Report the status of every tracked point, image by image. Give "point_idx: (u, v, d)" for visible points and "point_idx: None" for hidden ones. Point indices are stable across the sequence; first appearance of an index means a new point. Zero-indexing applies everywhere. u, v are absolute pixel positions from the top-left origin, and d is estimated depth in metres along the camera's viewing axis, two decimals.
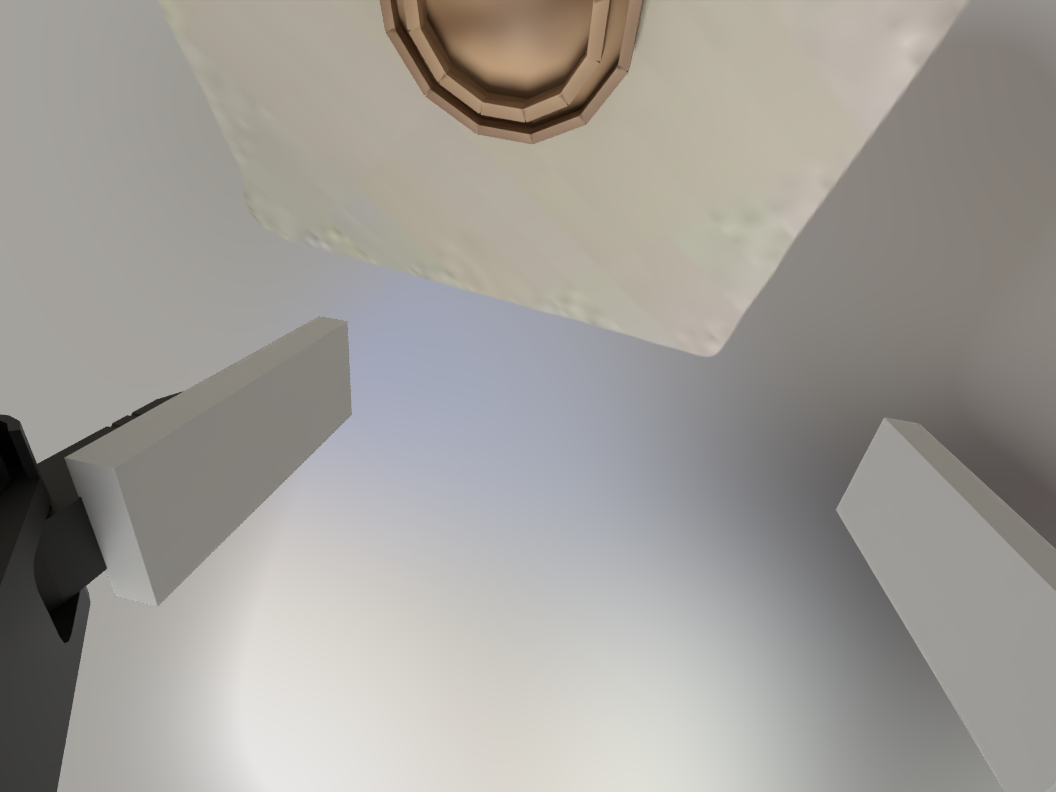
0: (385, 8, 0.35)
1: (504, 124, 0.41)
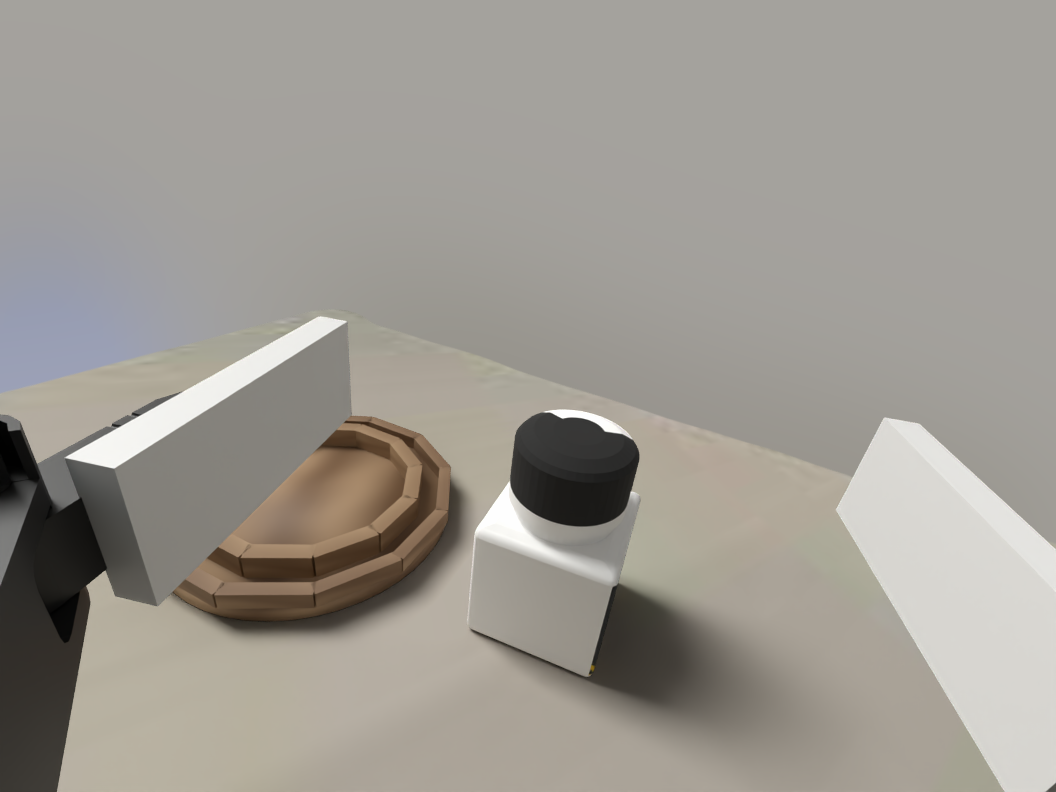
0: (385, 423, 0.41)
1: None
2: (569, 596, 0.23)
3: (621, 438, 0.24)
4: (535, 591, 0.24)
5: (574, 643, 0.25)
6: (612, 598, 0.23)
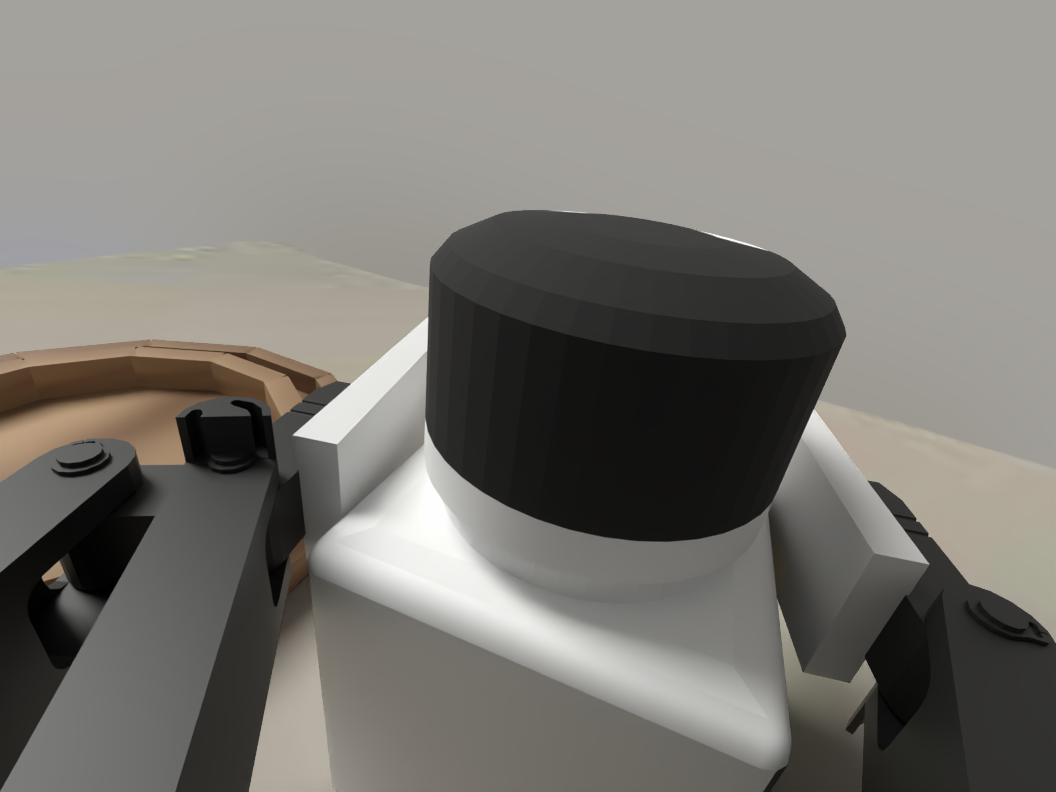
0: (273, 357, 0.24)
1: None
2: (604, 773, 0.07)
3: (775, 255, 0.07)
4: (496, 743, 0.08)
5: None
6: None
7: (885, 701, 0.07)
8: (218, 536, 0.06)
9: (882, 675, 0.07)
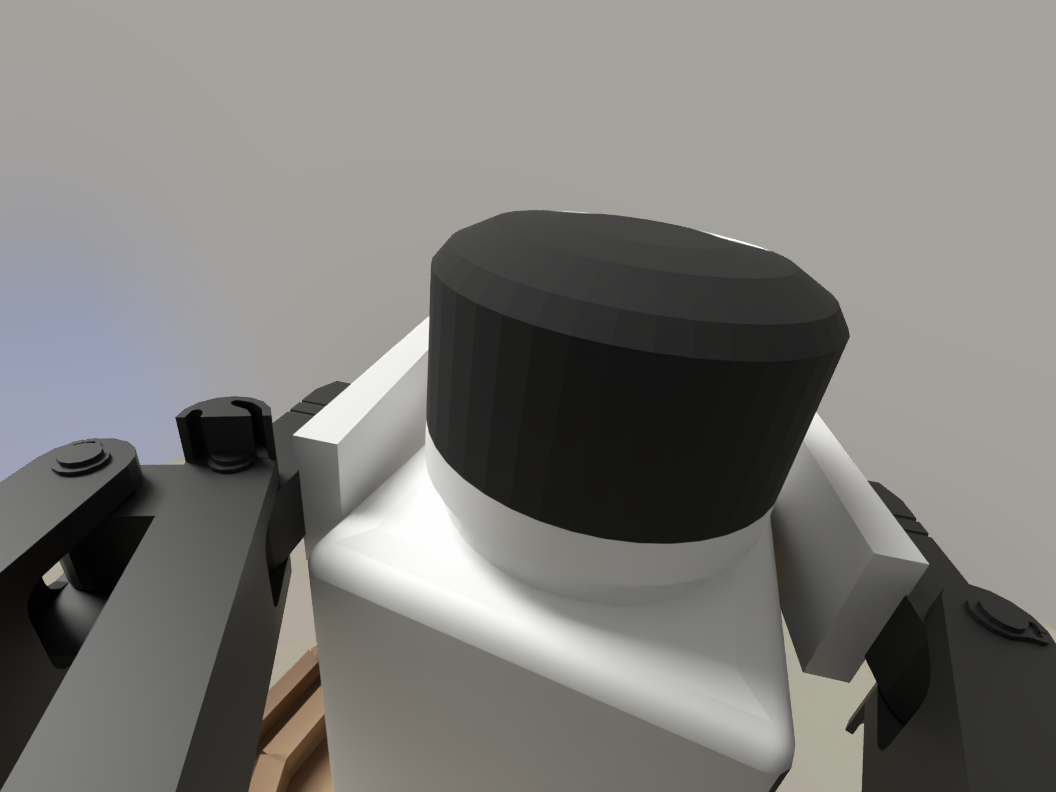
0: None
1: (285, 708, 0.22)
2: (606, 777, 0.07)
3: (777, 255, 0.07)
4: (497, 745, 0.08)
5: None
6: None
7: (885, 701, 0.07)
8: (218, 536, 0.06)
9: (882, 675, 0.07)
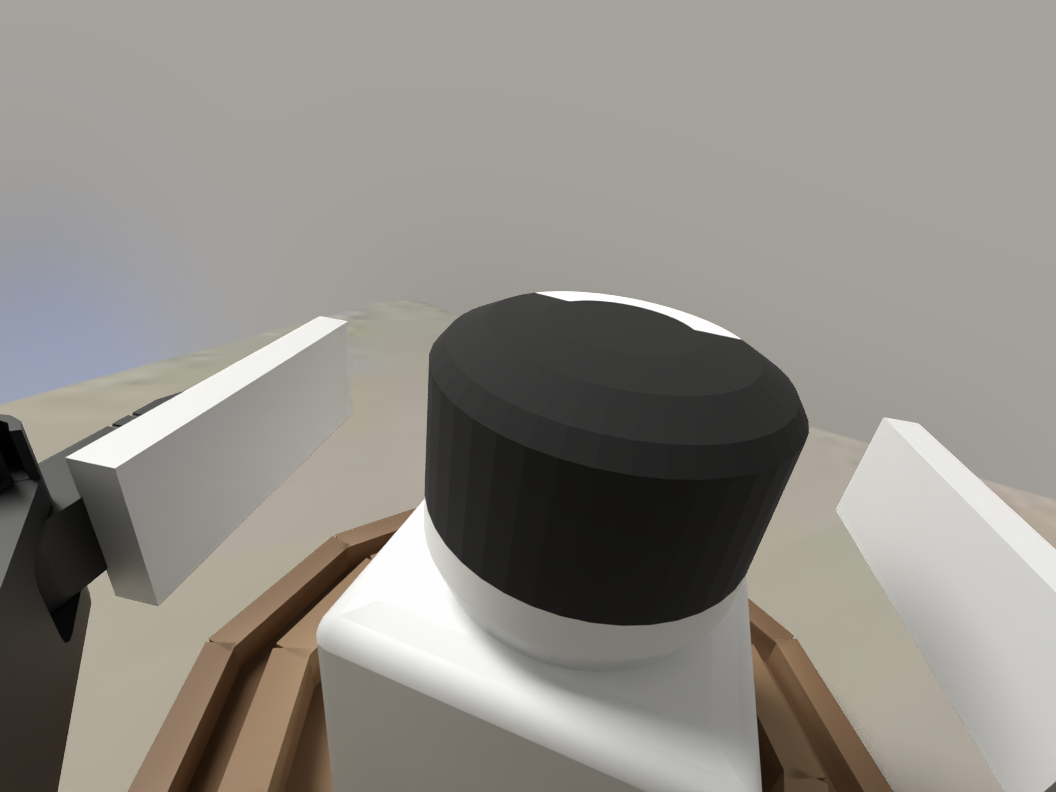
0: None
1: (304, 603, 0.16)
2: None
3: (746, 347, 0.08)
4: None
5: None
6: None
7: None
8: None
9: None
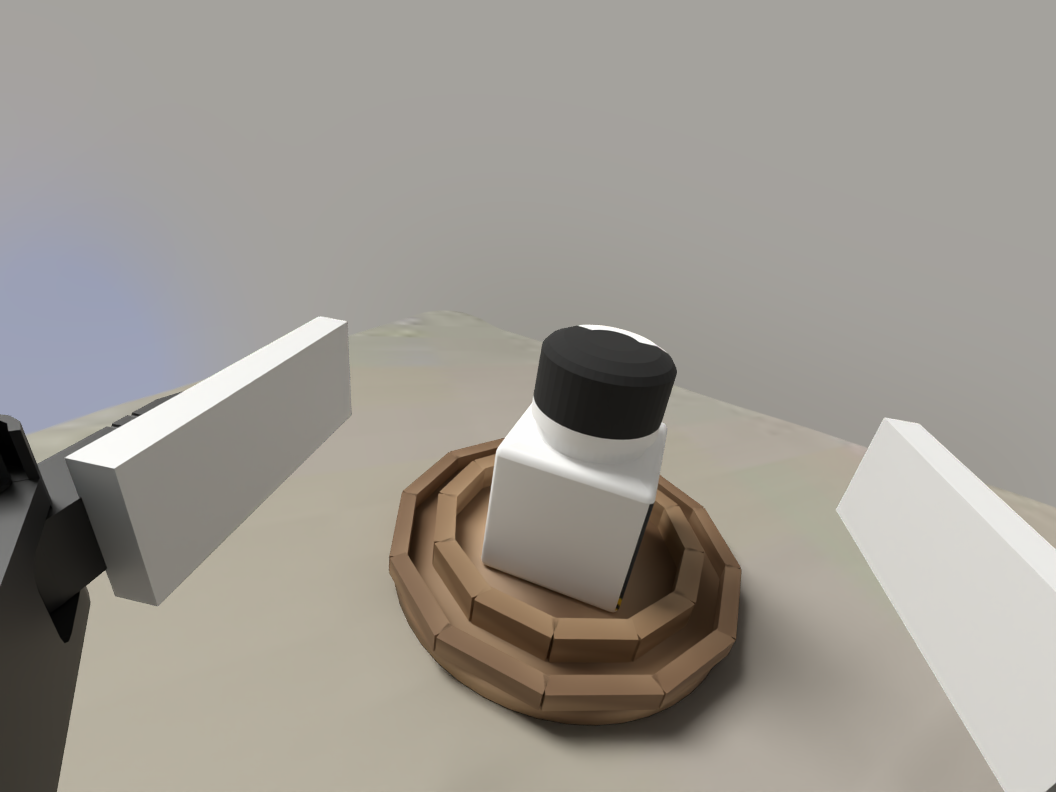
0: None
1: (439, 483, 0.30)
2: (599, 519, 0.22)
3: (657, 349, 0.22)
4: (562, 515, 0.22)
5: (601, 573, 0.23)
6: (648, 518, 0.21)
7: None
8: None
9: None
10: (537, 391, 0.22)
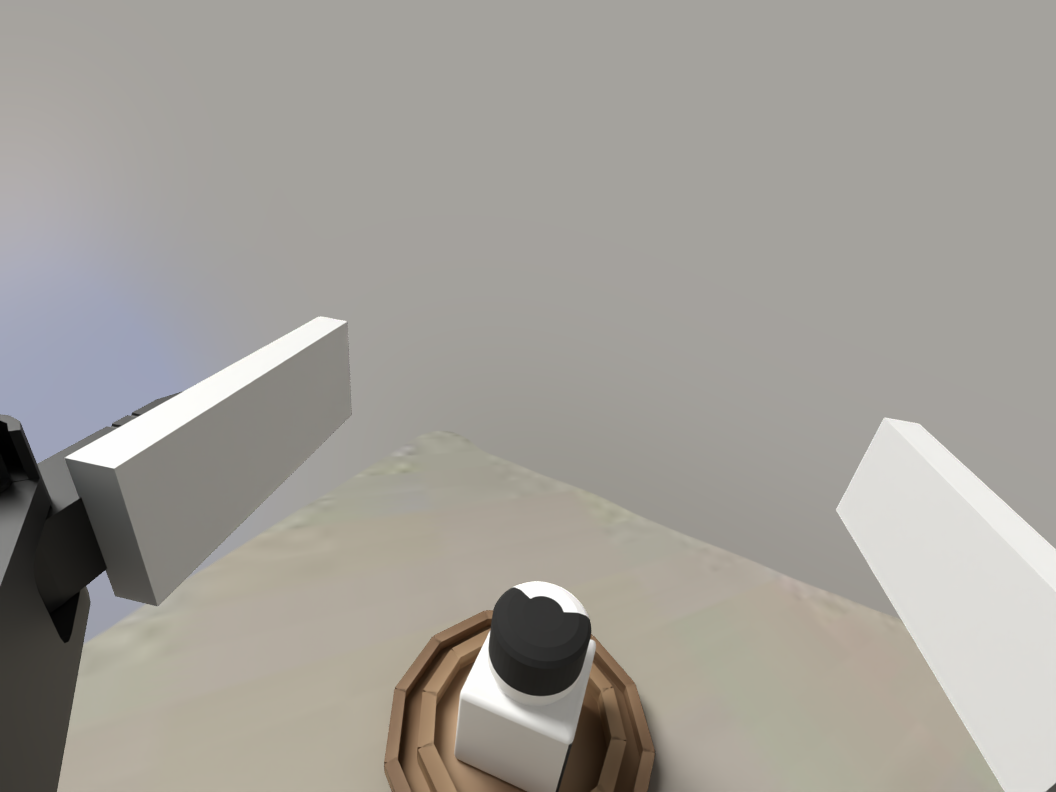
0: None
1: (425, 669, 0.38)
2: (535, 747, 0.29)
3: (577, 618, 0.30)
4: (509, 740, 0.30)
5: (540, 778, 0.31)
6: (569, 751, 0.29)
7: None
8: None
9: None
10: (489, 647, 0.30)
